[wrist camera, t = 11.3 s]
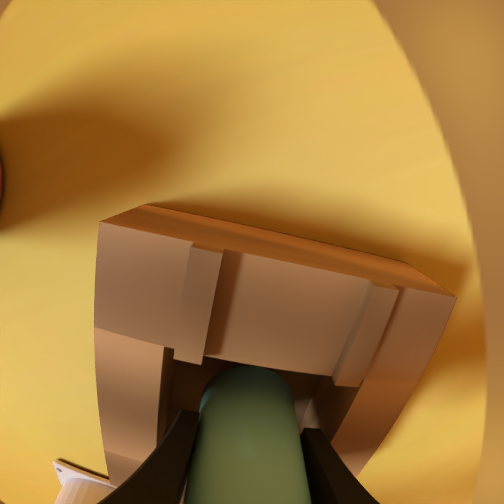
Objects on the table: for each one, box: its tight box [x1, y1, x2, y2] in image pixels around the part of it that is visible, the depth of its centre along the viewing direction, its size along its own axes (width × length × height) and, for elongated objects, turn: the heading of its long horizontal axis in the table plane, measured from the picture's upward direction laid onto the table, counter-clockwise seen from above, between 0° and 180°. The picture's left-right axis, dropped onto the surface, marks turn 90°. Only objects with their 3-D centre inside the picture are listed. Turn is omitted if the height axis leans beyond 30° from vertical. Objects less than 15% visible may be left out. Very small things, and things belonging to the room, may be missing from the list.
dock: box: [94, 204, 457, 504], centre depth 12 cm, size 13×11×4 cm
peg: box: [183, 366, 312, 504], centre depth 8 cm, size 4×4×7 cm
